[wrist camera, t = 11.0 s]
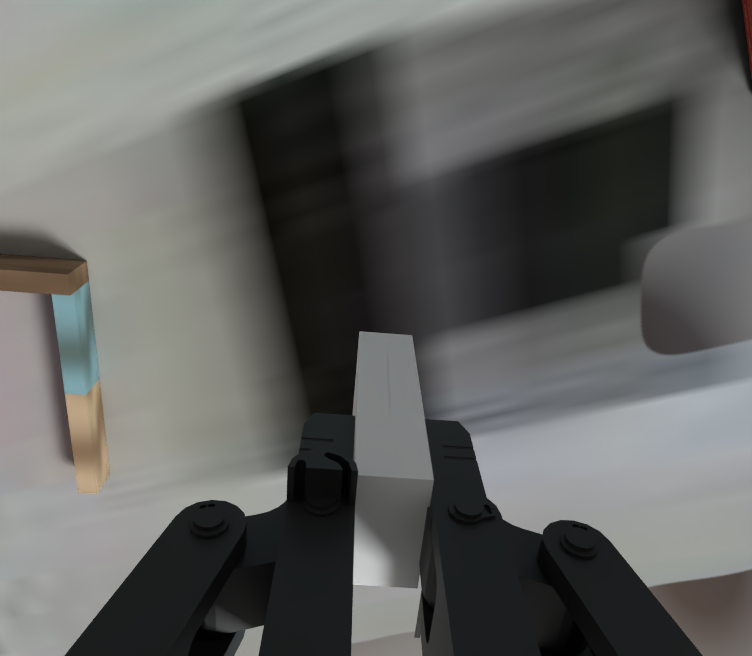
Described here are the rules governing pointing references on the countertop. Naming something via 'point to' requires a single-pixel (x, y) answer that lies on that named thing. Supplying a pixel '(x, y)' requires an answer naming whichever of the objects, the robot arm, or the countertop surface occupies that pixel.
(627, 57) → the countertop surface
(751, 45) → the cereal box
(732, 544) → the countertop surface
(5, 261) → the rack bay
